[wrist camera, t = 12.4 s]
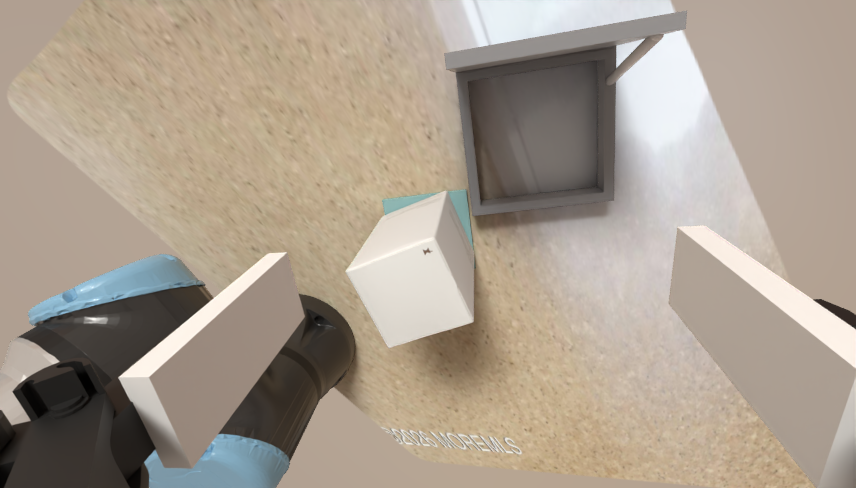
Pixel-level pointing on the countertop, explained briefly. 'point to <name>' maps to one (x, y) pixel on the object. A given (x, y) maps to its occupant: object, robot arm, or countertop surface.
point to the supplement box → (416, 272)
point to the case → (548, 55)
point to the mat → (456, 196)
